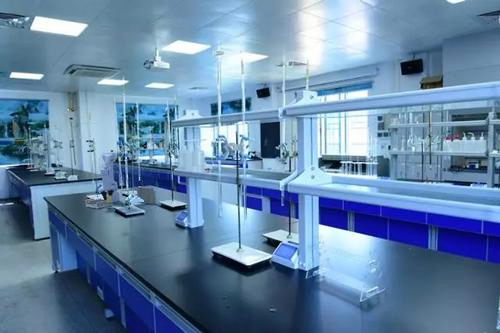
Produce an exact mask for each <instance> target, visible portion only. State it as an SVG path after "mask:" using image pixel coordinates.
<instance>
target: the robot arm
mask: <svg viewBox="0 0 500 333" xmlns="http://www.w3.org/2000/svg"><path fill="white" fill-rule="evenodd" d="M102 161H103V162H104V163H103V164H102V169H101V170H100V174H101V179H102V188H100V189H98V190H97V192H98V193H100V195H102V197H103V198H102V199H103V201H104V200H106V195H111V196H112V202H113V203H117V202H121V198H120V192H119V191H118V190H119V188H118V182H117V181H115V179H114V162H116V152H114V151H113V152H102Z"/></svg>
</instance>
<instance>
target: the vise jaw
mask: <svg viewBox="0 0 500 333" xmlns="http://www.w3.org/2000/svg"><path fill="white" fill-rule="evenodd" d="M84 201H85V202H84V203H85V204H96V202H100V201H103V198H97V199H95V198H89V199H88V198H87V199H85V200H84Z"/></svg>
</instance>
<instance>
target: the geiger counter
mask: <svg viewBox="0 0 500 333" xmlns="http://www.w3.org/2000/svg"><path fill="white" fill-rule="evenodd" d="M134 194H135V195H136V194H137V198H138V197H140V198H141V199H143V200H144V202H145V203H144V204H150V205H155V204H156V203H157V199H156V190H154V188H153V187H147V186H142V185H141V186H140V185H139V186H137V191H136V192H135V193H134Z"/></svg>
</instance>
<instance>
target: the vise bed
mask: <svg viewBox="0 0 500 333" xmlns="http://www.w3.org/2000/svg"><path fill="white" fill-rule="evenodd" d="M113 204H114V202H104V200H102V201H100V202H96V204H86V203H85V207H86V208H92V209H101V208H106V207H111V206H113Z"/></svg>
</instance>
